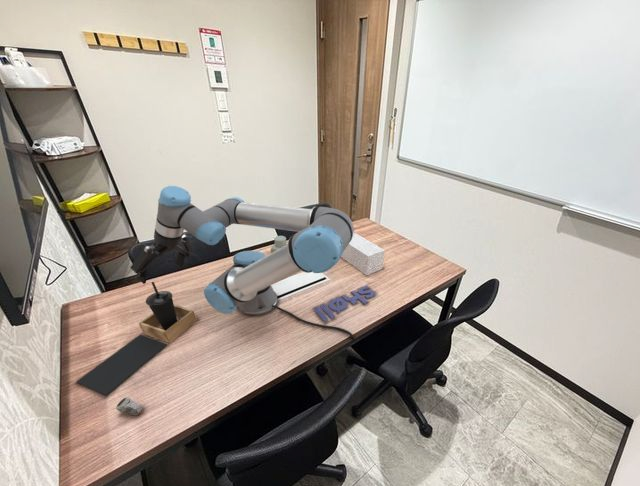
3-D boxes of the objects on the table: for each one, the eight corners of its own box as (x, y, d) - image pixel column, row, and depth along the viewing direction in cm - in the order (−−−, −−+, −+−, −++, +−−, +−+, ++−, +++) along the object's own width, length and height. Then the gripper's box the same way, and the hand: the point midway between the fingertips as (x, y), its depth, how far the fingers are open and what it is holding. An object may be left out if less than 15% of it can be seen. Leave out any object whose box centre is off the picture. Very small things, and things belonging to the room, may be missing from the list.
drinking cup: (172, 336, 99) (153, 291, 88) (153, 332, 100) (132, 287, 90) (187, 321, 106) (171, 277, 95) (169, 318, 107) (151, 274, 96)
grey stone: (126, 405, 78) (119, 394, 75) (148, 407, 78) (141, 396, 75) (116, 417, 75) (108, 406, 72) (138, 420, 75) (131, 409, 72)
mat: (167, 345, 96) (167, 344, 96) (106, 396, 80) (105, 394, 79) (140, 335, 99) (140, 334, 98) (77, 382, 83) (75, 381, 82)
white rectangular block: (329, 249, 158) (329, 231, 152) (344, 244, 164) (345, 227, 158) (366, 275, 137) (368, 256, 132) (382, 268, 143) (384, 250, 137)
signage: (366, 284, 129) (380, 296, 123) (366, 286, 130) (380, 297, 123) (312, 307, 115) (324, 321, 108) (312, 308, 115) (324, 322, 108)
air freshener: (268, 254, 150) (266, 237, 144) (280, 248, 155) (278, 232, 150) (283, 261, 144) (281, 244, 139) (294, 255, 150) (293, 238, 145)
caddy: (197, 320, 106) (193, 310, 104) (170, 343, 97) (165, 332, 94) (172, 312, 109) (168, 302, 107) (143, 333, 100) (138, 323, 97)
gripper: (195, 213, 100) (185, 254, 112) (117, 234, 80) (115, 280, 92) (210, 227, 100) (199, 266, 112) (135, 251, 79) (131, 296, 91)
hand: (161, 273), depth 102 cm, fingers open, 13 cm apart
